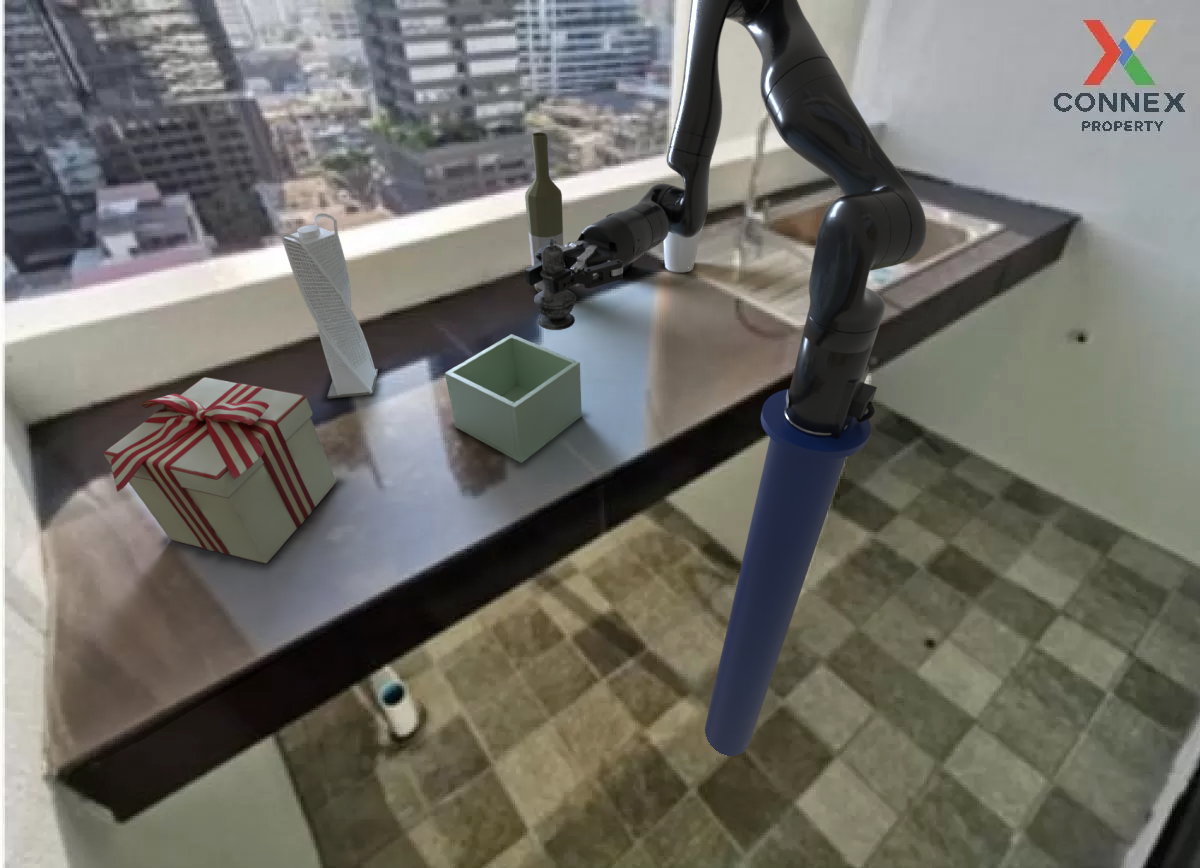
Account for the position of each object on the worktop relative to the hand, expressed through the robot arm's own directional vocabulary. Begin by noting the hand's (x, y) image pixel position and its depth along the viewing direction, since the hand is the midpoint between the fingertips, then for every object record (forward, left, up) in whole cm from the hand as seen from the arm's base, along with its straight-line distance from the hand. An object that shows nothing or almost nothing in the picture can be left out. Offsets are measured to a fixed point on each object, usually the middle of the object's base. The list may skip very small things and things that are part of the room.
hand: (539, 282), depth 80 cm
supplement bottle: (+22, -49, -22) cm, 58 cm away
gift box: (+15, +39, -22) cm, 48 cm away
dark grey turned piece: (0, -3, -7) cm, 8 cm away
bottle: (+28, -33, -22) cm, 48 cm away
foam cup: (+12, -59, -22) cm, 64 cm away
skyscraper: (+30, +13, -22) cm, 40 cm away
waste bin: (+2, +4, -22) cm, 22 cm away
